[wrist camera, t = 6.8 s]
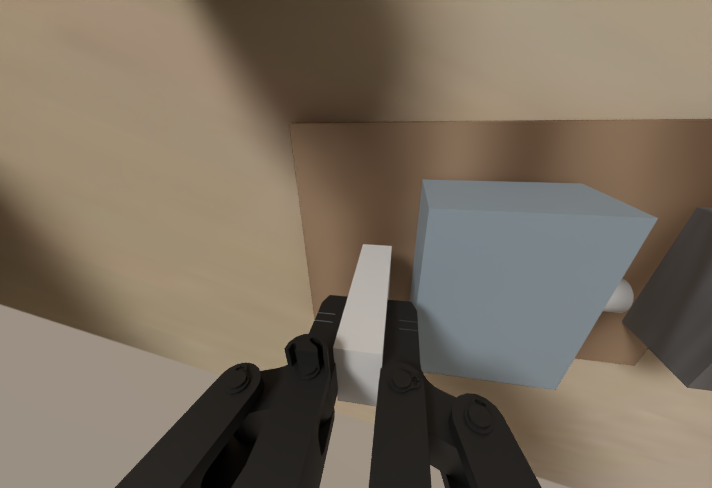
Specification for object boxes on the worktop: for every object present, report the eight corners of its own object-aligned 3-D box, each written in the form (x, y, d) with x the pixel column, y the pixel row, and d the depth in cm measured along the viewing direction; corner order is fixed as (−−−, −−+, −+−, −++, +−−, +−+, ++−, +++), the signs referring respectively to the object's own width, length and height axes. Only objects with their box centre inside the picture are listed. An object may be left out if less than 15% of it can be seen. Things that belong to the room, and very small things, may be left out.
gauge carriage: (405, 334, 18) (405, 390, 14) (422, 179, 13) (429, 208, 9) (548, 351, 16) (586, 417, 13) (633, 184, 11) (735, 221, 8)
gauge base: (319, 317, 20) (296, 375, 16) (296, 122, 14) (245, 131, 9) (623, 352, 17) (696, 436, 13) (792, 118, 10) (1071, 129, 6)
